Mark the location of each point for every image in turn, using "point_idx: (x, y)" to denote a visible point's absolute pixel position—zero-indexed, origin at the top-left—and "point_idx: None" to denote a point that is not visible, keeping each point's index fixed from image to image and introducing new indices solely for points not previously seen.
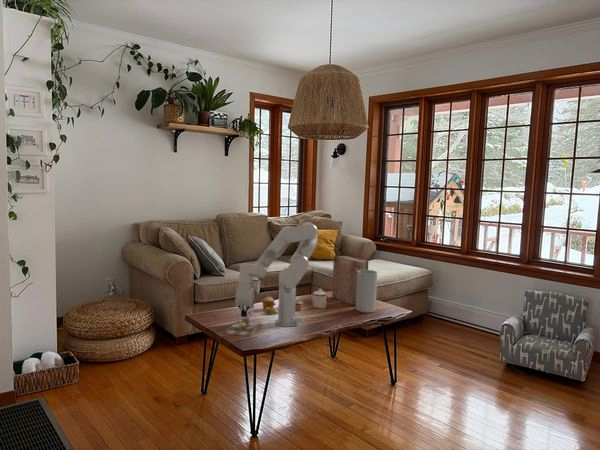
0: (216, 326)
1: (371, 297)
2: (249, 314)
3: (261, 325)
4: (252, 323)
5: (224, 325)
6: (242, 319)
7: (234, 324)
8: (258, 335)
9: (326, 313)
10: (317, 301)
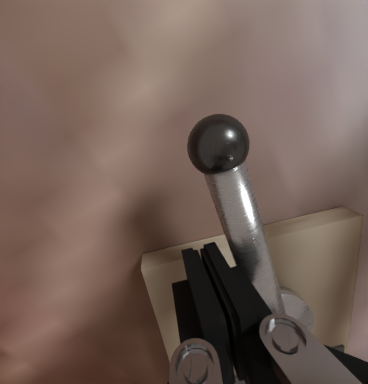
0: (52, 377)
1: None
2: (259, 222)
3: (346, 209)
4: (292, 257)
5: (84, 337)
6: None
7: (174, 346)
8: (362, 345)
9: None
10: None
